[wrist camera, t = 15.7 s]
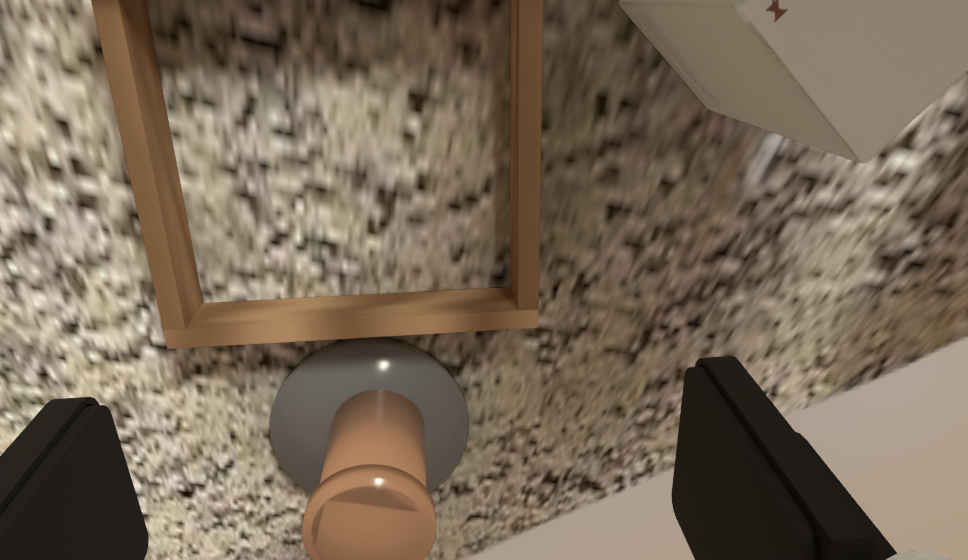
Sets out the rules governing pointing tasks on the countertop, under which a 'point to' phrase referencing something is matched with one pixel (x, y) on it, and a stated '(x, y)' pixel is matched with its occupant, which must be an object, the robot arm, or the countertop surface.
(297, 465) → the slate coaster
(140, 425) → the countertop surface
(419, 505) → the terracotta pot
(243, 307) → the brown wooden square frame
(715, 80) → the supplement box
